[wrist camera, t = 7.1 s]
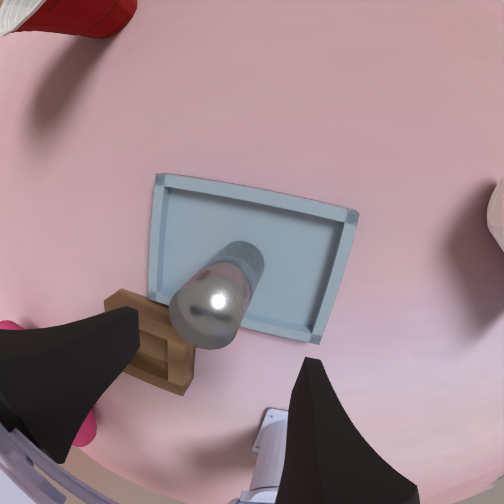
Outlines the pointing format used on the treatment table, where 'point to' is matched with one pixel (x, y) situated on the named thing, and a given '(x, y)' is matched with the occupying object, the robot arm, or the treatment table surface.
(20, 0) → the plastic cup
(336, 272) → the tray
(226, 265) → the dowel
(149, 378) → the socket block
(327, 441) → the robot arm
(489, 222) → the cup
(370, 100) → the treatment table surface
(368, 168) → the treatment table surface
